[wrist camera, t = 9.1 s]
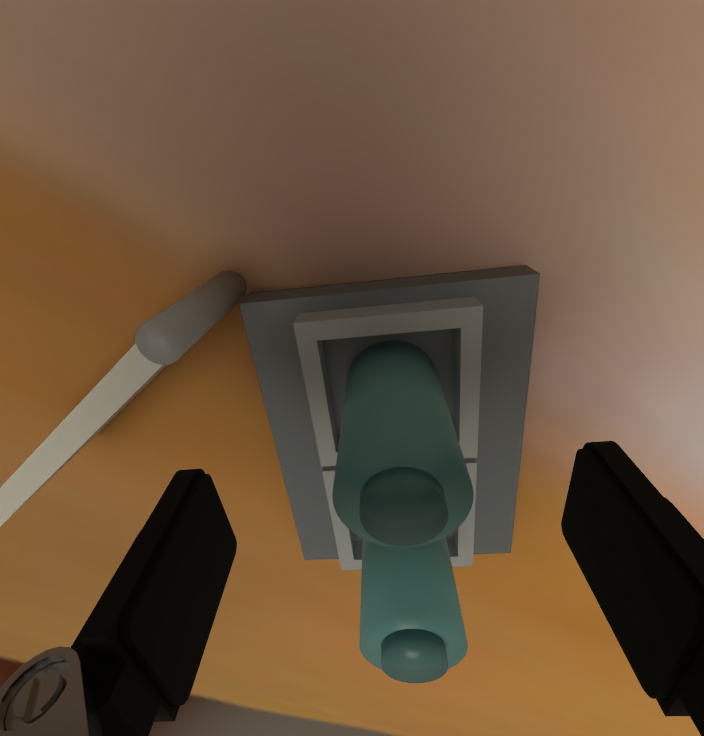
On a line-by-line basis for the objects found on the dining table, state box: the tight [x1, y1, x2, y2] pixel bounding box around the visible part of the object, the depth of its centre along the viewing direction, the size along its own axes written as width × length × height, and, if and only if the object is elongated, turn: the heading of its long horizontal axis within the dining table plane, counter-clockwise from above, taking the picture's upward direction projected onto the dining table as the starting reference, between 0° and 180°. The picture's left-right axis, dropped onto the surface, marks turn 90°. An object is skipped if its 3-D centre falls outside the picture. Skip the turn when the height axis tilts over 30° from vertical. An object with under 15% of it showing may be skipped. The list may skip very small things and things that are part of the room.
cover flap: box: [0, 271, 246, 526], centre depth 16 cm, size 13×1×6 cm, turn 132°
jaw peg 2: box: [360, 537, 468, 683], centre depth 17 cm, size 4×4×8 cm
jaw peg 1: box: [332, 341, 474, 547], centre depth 14 cm, size 4×4×8 cm
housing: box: [239, 265, 540, 570], centre depth 19 cm, size 16×12×3 cm
